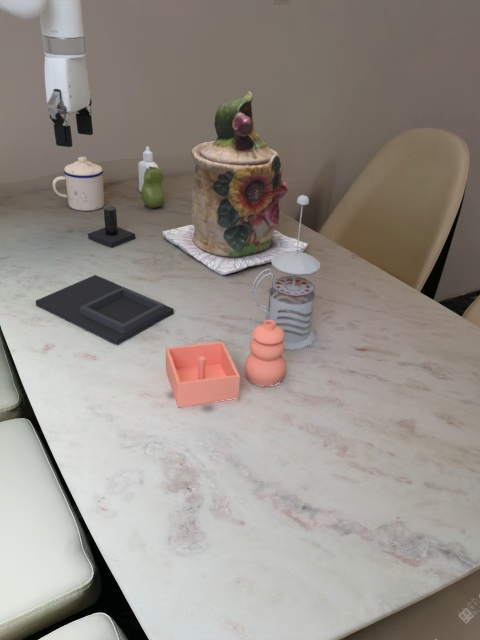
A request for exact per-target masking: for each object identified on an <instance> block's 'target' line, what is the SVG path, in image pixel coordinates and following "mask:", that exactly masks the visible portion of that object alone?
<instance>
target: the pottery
mask: <svg viewBox="0 0 480 640" xmlns="http://www.w3.org/2000/svg"><path fill="white" fill-rule="evenodd" d="M251 335H252V339H251V341H250V346H249V349H250V353H249V354H248V355H247V357H246V358H245V361H244V373H245V378H246V379H247V381H248V382H249V383H251V382H252V383H251V384H252V385H254V386H256V387H259V386H258V385H263V386H260V387H261V388H265V387H264V386H269V387H268V388H272V387H275V386H278V385H279V384H281V383H282V382H283V380H284V378H285V375H286V373H287V362H286V360H285V358H284V357H283V354H284V352H285V349H284V343H283V341H282V340H283V339H284V331H283V330H282V329H281V328H280V327H278V326H277V325H275V322H274V321H273V320H266V319H265V320H264V321H263V323H261V324H259V325H256V326H255V327H254V328H253V330H252V334H251ZM165 372H166V374H167V378H168V382H169V383H170V388H171V390H172V394H173V396H174V397H173V398H174V399H175V403H176V406H177V408H186V407H191V406H199V405H207V404H214V403H220V402H229V401H230V400H227V399H232V400H231V401H236V400H237V399H233V398H238V399H239V395H240V382H241V381H240V380H241V376H240V374H239V372H238V369H237V367H236V365H235V363H234V361H233V359H232V357H231V355H230V352H229V351H228V348H227V346H226V344H225V342H224V341H217V342H216V341H215V342H208V343H198V344H189V345H179V346H171V347H165ZM279 382H280V383H279ZM253 383H254V384H253ZM277 383H279V384H277ZM255 384H257V385H255ZM275 384H277V385H275ZM270 385H274V386H270ZM221 400H224V401H221ZM215 401H217V402H215ZM209 402H210V403H209Z"/></svg>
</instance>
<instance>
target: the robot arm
mask: <svg viewBox="0 0 480 640" xmlns="http://www.w3.org/2000/svg"><path fill="white" fill-rule="evenodd" d="M0 10H2V11H3V12H6V14H10V15H12V16H15V17H16V18H19V19H23V20H33V19H36V18H38V17H39V22H40V30H41V37H42V45H43V51H44V52H43V53H44V55H45V56H44V69H43V70H44V86H45V98H46V110H47V112H48V114H49V119H50V120H51V124H52V126H53V130H54V131H53V133H54V139H55V145H56V146H57V147H65V148H72V147H73V139H72V128H71V125H69V120H70V116H71V115H72V114H75V121H76V129H77V130H76V131H77V133H78V135H87V136H92V135H93V134H94V129H93V118H92V113H93V110H92V104H93V100H92V91H93V90H92V88H91V87H90V81H89V75H88V74H89V73H88V68H87V64H86V63H87V62H86V57H87V51H86V40H85V33H84V32H85V31H84V30H85V29H84V21H83V11H82V1H81V0H0ZM62 115H63V116H62Z"/></svg>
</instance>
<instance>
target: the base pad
mask: <svg viewBox="0 0 480 640" xmlns="http://www.w3.org/2000/svg"><path fill="white" fill-rule="evenodd" d="M35 306H37V307H38V308H41V309H43V310H45V311H47V312H49V313H51V314H53V315H56V316H57V317H59V318H61V319H63V320H64V321H67V322H69V323H70V324H73V325H75V326H77V327H79V328H82V329H83V330H85V331H87V332H89V333H91V334H93V335H95V336H98V337H100V338H102V339H103V340H106V341H108V342H110V343H112V344H114V345H116V346H118V345H120V344H122V343H124V342H125V341H127V340H129V339H131V338H133V337H134V336H136V335H138V334H139V333H141V332H143V331H146V330H147V329H148V328H150V327H152V326H153V325H156V324H158V323H160V322H161V321H164V320H165V319H166V318H168V317H170V316H171V315H173V314H174V313H175V311H174V308H173V307H170V306H168V305H166V304H164V303H162V302H160V301H157V300H155V299H153V298H151V297H148V296H146V295H143V294H141V293H139V292H137V291H134V290H132V289H129V288H127V287H125V286H122V285H120V284H117V283H115V282H113V281H111V280H108V279H106V278H104V277H101V276H99V275H97V274H94V275H92V276H89V277H87V278H85V279H82V280H80V281H78V282H75V283H73V284H71V285H69V286H66V287H64V288H61V289H59V290H57V291H55V292H52V293H49V294H47V295H45V296H43V297H41V298H38V299H36V300H35Z"/></svg>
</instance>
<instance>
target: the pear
mask: <svg viewBox="0 0 480 640" xmlns="http://www.w3.org/2000/svg"><path fill="white" fill-rule="evenodd" d="M163 180H164V175H163V172H162V170H160V169H159V167H158V168H157V167H151V166H149V168H148V169H146V171H145V173H144V183H143V185H142V189H141V192H140V195H141V200H142V202H143V204H144V205H145V206H146V207H148V208H150V209H157V208H159V207H161V206H162V205H163V204H164V201H165V192H164V188H163V185H162V181H163Z"/></svg>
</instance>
